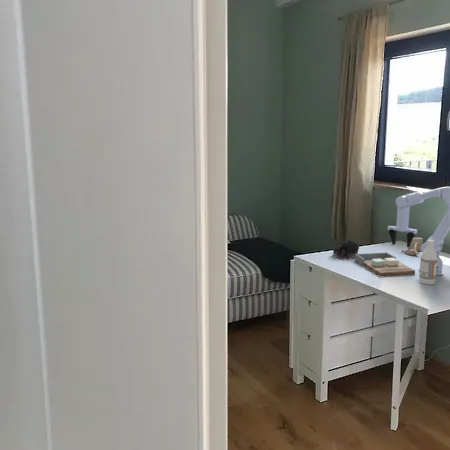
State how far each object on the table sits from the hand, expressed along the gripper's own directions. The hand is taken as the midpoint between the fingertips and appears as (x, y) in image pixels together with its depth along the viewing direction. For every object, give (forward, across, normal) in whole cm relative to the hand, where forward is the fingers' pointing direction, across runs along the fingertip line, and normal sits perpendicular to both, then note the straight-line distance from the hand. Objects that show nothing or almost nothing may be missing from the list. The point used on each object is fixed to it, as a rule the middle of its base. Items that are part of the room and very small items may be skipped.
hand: (401, 245), depth 260 cm
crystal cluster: (+10, +29, +3) cm, 31 cm away
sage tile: (+8, +5, +14) cm, 17 cm away
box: (+10, +12, +4) cm, 16 cm away
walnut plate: (+10, +1, +12) cm, 16 cm away
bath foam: (+10, -21, +19) cm, 30 cm away
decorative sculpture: (+11, +5, -28) cm, 30 cm away
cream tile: (+8, +1, +8) cm, 12 cm away
